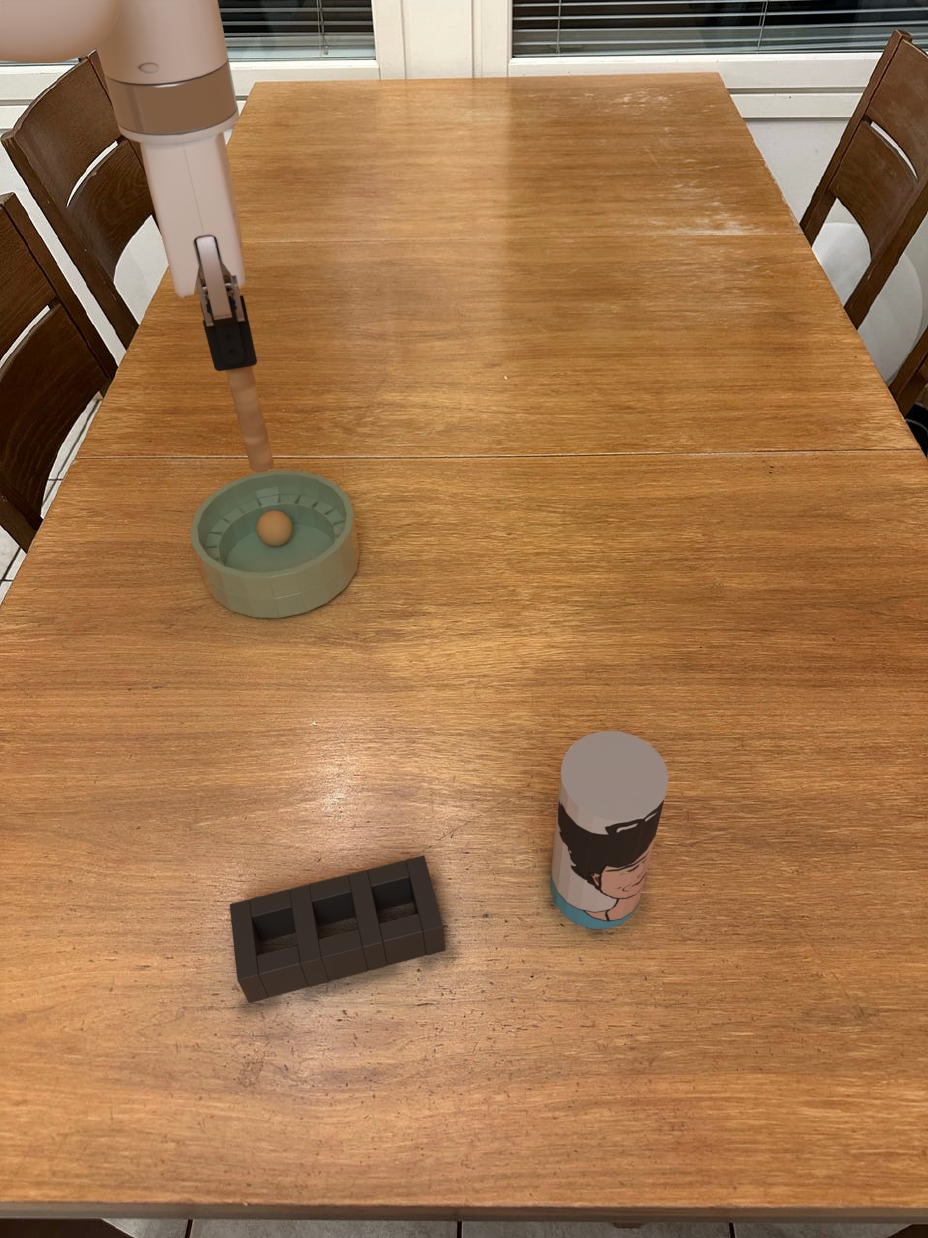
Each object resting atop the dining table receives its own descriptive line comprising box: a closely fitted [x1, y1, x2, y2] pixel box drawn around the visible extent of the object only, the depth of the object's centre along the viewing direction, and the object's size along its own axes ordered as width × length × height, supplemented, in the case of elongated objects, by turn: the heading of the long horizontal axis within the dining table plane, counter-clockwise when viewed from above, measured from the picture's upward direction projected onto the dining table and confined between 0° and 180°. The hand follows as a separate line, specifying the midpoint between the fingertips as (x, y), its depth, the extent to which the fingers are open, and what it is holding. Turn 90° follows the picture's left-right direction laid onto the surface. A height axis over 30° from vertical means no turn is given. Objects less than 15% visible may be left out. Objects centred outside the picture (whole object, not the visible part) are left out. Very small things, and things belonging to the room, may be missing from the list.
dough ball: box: [256, 510, 293, 546], centre depth 95 cm, size 4×4×4 cm
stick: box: [207, 291, 275, 473], centre depth 74 cm, size 2×2×16 cm
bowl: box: [189, 469, 361, 619], centre depth 92 cm, size 15×15×6 cm
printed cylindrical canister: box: [549, 730, 670, 930], centre depth 65 cm, size 7×7×15 cm
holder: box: [229, 854, 446, 1004], centre depth 67 cm, size 14×6×4 cm, turn 105°
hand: (234, 355), depth 72 cm, fingers closed on stick, 2 cm apart
